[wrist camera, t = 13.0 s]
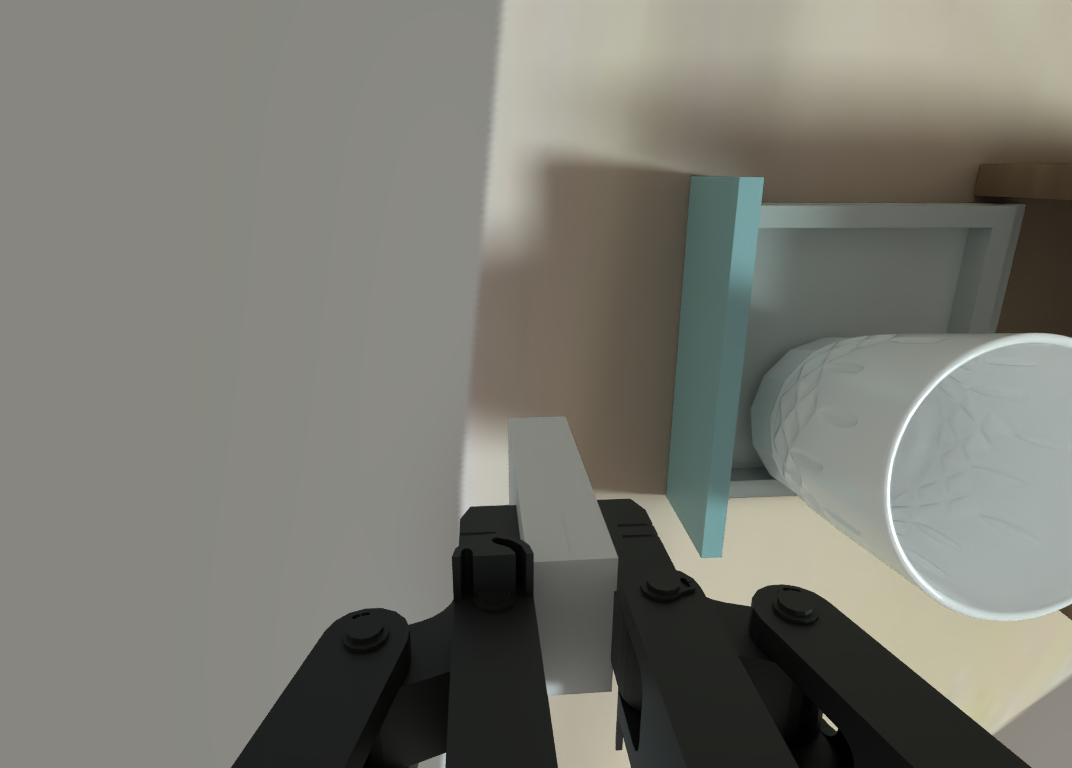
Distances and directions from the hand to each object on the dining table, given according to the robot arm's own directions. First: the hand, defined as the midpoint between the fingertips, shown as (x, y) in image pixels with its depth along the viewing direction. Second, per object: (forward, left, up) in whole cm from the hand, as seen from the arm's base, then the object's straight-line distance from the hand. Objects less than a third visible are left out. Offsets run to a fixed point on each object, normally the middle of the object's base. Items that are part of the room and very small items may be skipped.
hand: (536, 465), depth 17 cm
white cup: (+2, +13, -9) cm, 16 cm away
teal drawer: (0, +14, -10) cm, 17 cm away
